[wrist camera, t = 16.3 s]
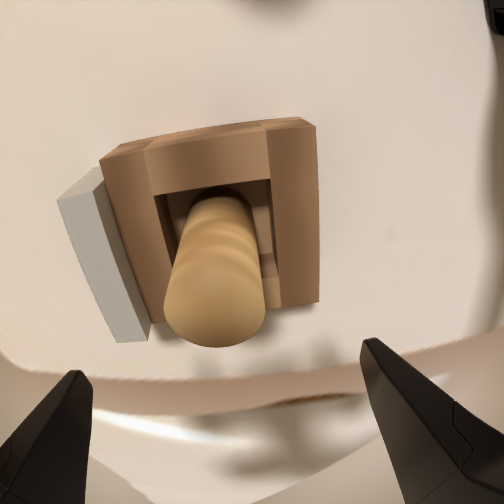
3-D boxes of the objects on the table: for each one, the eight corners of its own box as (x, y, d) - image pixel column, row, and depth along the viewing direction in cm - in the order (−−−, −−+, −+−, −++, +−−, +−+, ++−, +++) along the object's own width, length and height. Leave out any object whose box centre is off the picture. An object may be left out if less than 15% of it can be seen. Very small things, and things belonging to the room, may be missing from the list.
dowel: (248, 182, 17) (259, 264, 10) (256, 240, 19) (269, 341, 12) (182, 192, 17) (150, 278, 10) (195, 248, 19) (178, 351, 12)
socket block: (298, 116, 16) (315, 126, 13) (306, 269, 22) (319, 301, 19) (120, 144, 16) (98, 160, 13) (160, 288, 22) (152, 323, 19)
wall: (123, 160, 17) (92, 191, 13) (159, 288, 22) (147, 340, 17) (93, 168, 17) (56, 199, 13) (133, 291, 22) (116, 342, 17)
